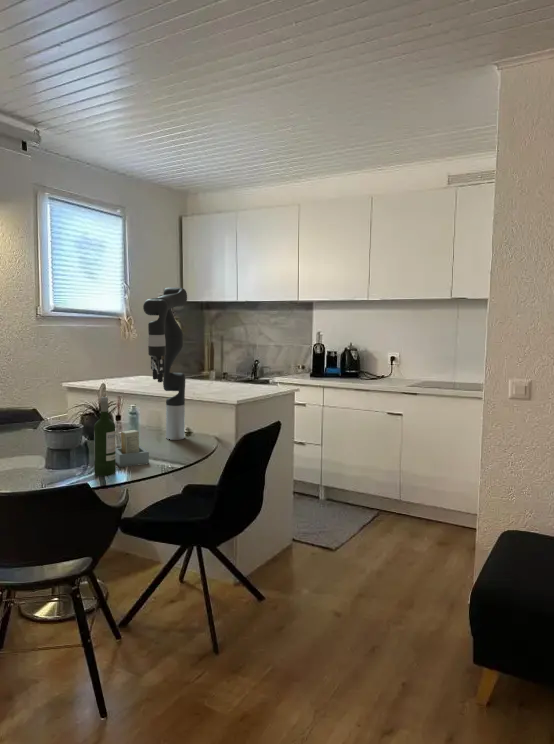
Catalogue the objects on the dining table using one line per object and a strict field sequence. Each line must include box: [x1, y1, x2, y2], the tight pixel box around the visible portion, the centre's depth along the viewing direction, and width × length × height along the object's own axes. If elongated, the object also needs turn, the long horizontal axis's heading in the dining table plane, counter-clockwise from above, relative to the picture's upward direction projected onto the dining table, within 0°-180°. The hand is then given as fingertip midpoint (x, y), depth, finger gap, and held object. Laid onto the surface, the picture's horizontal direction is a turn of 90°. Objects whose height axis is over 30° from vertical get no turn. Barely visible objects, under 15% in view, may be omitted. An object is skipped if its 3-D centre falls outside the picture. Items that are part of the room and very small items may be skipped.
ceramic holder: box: [115, 445, 150, 468], centre depth 227 cm, size 12×12×5 cm
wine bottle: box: [93, 396, 117, 477], centre depth 209 cm, size 8×8×30 cm
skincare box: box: [120, 429, 140, 454], centre depth 227 cm, size 6×4×12 cm
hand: (157, 380), depth 241 cm, fingers open, 8 cm apart
